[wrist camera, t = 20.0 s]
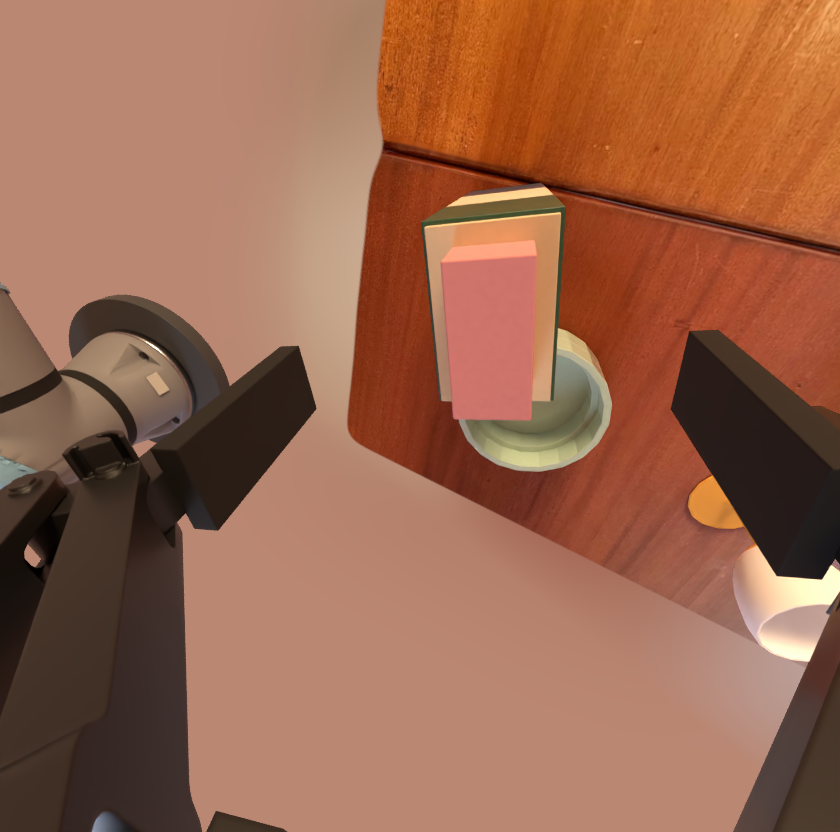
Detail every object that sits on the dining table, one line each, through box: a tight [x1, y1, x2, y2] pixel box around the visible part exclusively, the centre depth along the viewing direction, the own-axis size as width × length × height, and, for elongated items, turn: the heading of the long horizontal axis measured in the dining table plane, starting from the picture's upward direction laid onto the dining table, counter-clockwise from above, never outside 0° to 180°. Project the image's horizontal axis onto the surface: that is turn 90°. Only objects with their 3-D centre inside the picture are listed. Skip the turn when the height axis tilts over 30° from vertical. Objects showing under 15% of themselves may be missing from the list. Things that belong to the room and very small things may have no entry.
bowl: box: [459, 328, 612, 472], centre depth 42 cm, size 14×14×6 cm
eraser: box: [441, 240, 537, 420], centre depth 18 cm, size 7×4×3 cm, turn 6°
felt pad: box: [424, 212, 561, 401], centre depth 19 cm, size 6×9×1 cm, turn 7°
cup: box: [688, 475, 840, 662], centre depth 40 cm, size 9×9×16 cm
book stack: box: [421, 183, 566, 401], centre depth 28 cm, size 6×9×22 cm, turn 7°
